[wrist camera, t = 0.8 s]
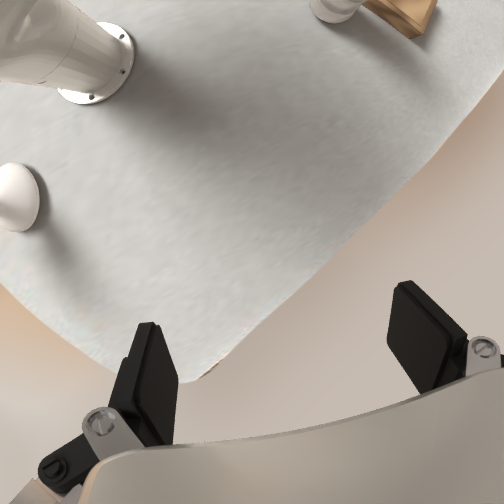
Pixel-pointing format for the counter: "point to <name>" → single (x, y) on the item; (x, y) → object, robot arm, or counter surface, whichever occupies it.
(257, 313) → the counter surface
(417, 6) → the base slab
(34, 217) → the flower in vase
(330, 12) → the plastic bottle
